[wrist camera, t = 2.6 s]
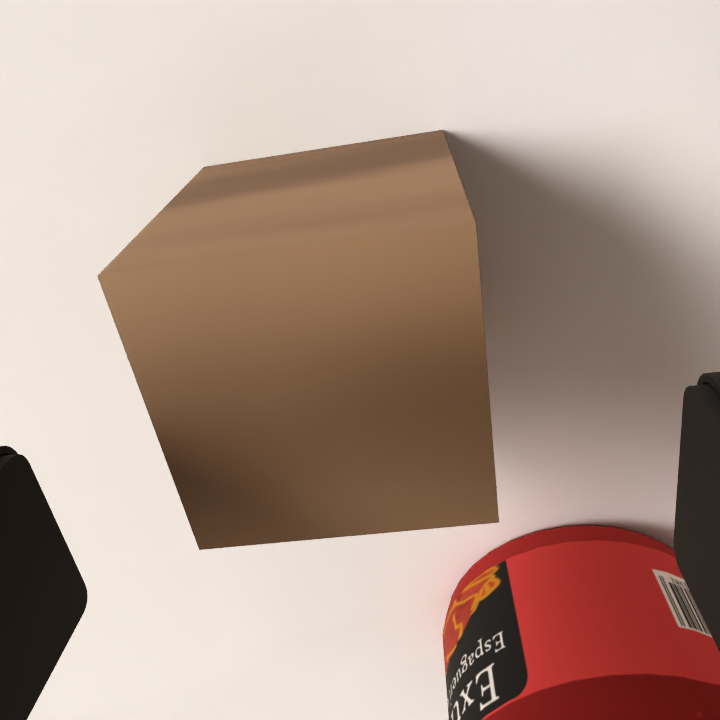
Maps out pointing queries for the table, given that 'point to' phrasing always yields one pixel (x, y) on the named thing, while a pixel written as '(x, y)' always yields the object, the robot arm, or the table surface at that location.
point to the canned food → (579, 633)
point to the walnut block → (315, 344)
